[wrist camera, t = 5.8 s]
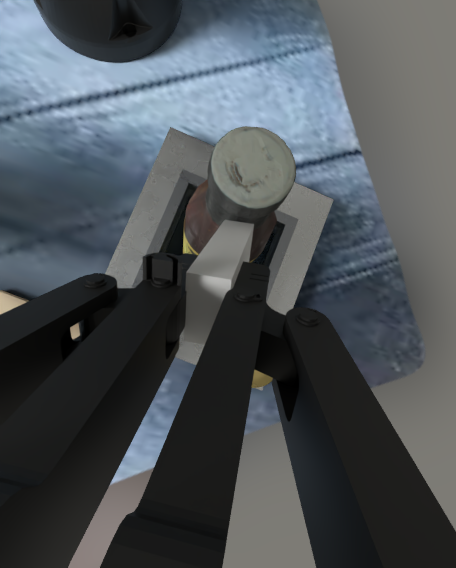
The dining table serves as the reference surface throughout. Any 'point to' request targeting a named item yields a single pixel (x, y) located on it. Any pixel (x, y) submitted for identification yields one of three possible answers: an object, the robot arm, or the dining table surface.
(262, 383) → the plunger
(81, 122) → the dining table surface
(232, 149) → the sauce bottle
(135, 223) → the housing
